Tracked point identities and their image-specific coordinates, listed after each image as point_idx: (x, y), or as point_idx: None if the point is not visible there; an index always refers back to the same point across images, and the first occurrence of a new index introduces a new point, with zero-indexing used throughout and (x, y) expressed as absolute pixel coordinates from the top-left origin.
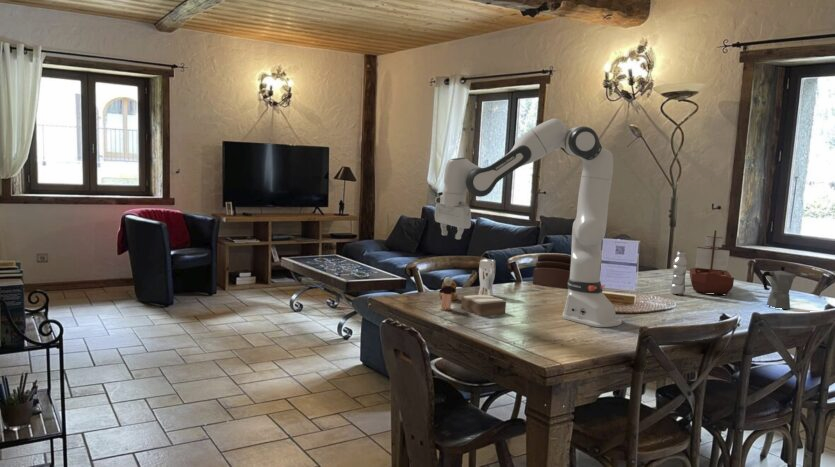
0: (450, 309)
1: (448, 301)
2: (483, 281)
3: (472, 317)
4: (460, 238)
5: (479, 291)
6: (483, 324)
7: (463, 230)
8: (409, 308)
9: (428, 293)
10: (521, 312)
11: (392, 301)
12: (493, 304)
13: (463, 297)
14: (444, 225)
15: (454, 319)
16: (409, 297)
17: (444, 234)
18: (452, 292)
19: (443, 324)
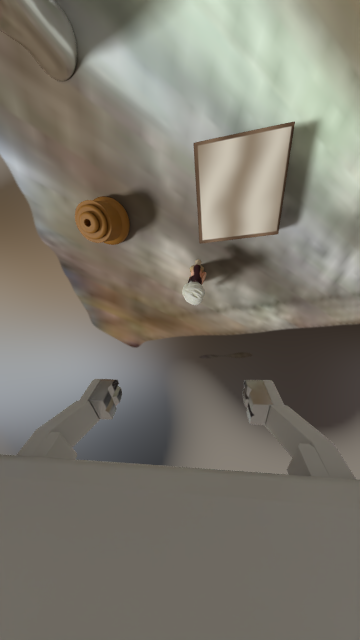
0: (203, 269)
1: (204, 279)
2: (33, 30)
3: (268, 254)
4: (272, 384)
5: (49, 71)
6: (321, 261)
7: (333, 446)
8: (173, 326)
9: (62, 242)
10: (300, 51)
11: (127, 330)
12: (283, 185)
13: (199, 238)
14: (67, 448)
15: (262, 294)
16: (100, 294)
17: (119, 395)
18: (119, 221)
19: (278, 324)
